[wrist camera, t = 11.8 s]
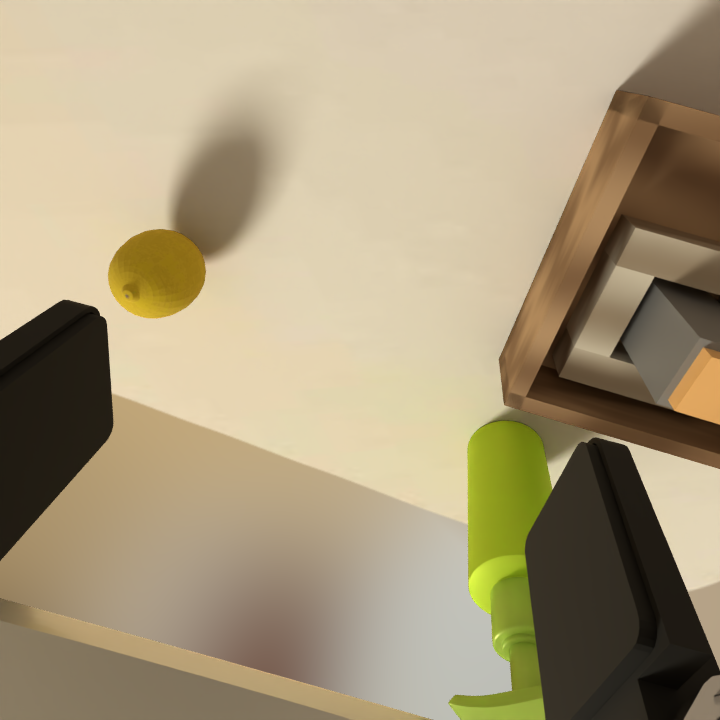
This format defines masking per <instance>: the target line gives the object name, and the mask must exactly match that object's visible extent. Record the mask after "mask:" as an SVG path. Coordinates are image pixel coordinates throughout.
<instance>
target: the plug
mask: <svg viewBox="0 0 720 720" xmlns="http://www.w3.org/2000/svg"><path fill="white" fill-rule="evenodd" d="M620 340H621V342H622V343H623V345H624V347H625V349H626V351H627V352H628V354H629V356H630V358H631V360H632V361H633V363H634V365H635V367H636V368H637V370H638V372H639V374H640V376H641V377H642V379H643V381H644V383H645V385H646V386H647V388H648V390H649V392H650V394H651V395H652V397H653V399H654V401H655V403H656V404H659V405H662V406H666V407H669V408H672V409H674V411H677V412H680V413H683V414H687V415H690V416H693V417H696V418H700V419H703V420H706V421H710V422H713V423H716V424H719V425H720V303H719V302H718V301H717V300H716V299H715V298H714V297H713V296H712V295H711V294H710V293H709V292H707V291H703V290H700V289H696V288H693V287H689V286H686V285H682V284H679V283H675V282H672V281H668V280H665V279H661V278H658V277H654V279H653V281H652V282H651V284H650V286H649V288H648V289H647V291H646V293H645V295H644V297H643V298H642V300H641V302H640V304H639V306H638V307H637V309H636V311H635V313H634V314H633V316H632V318H631V320H630V322H629V323H628V325H627V327H626V329H625V330H624V332H623V334H622V336H621V338H620Z"/></svg>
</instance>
